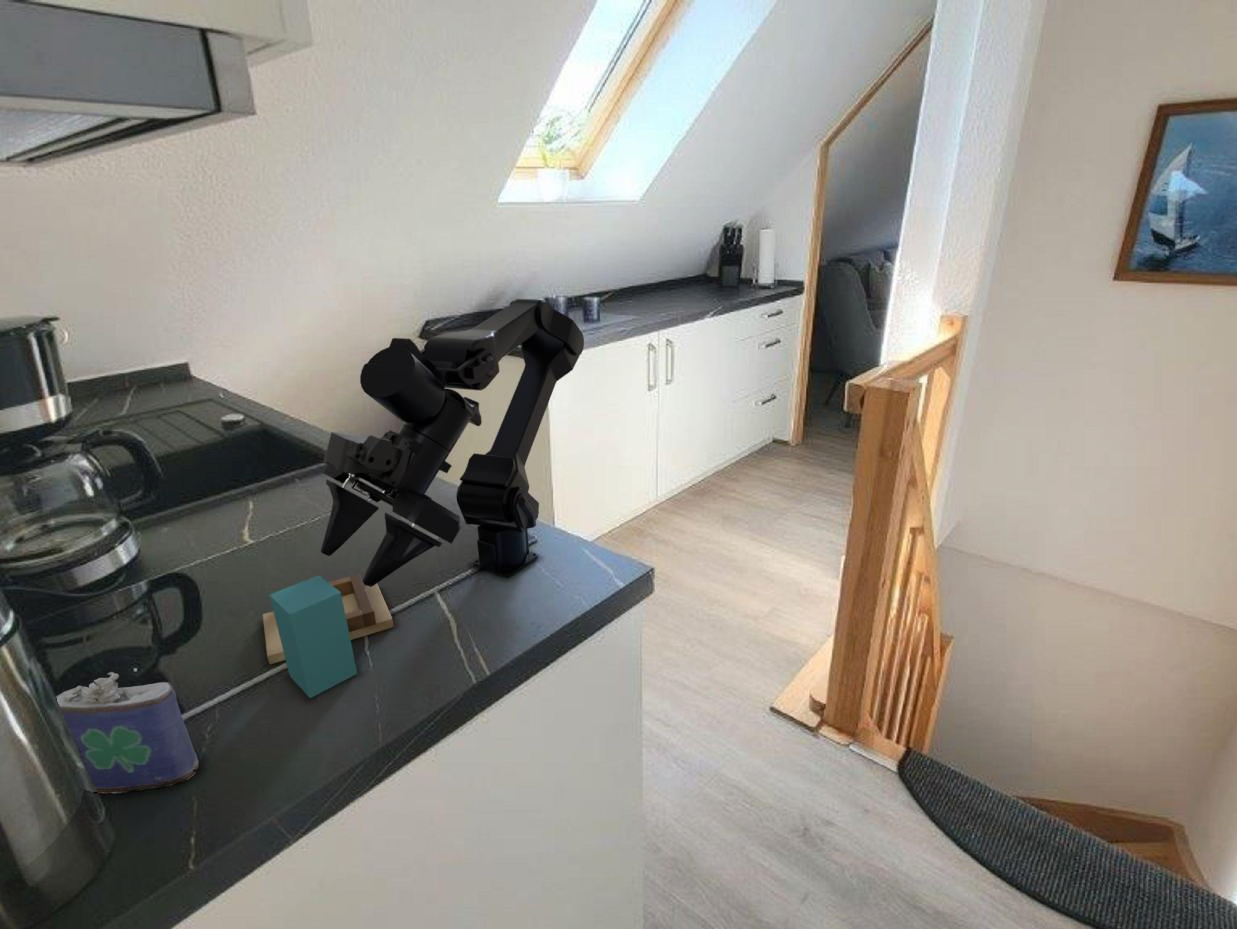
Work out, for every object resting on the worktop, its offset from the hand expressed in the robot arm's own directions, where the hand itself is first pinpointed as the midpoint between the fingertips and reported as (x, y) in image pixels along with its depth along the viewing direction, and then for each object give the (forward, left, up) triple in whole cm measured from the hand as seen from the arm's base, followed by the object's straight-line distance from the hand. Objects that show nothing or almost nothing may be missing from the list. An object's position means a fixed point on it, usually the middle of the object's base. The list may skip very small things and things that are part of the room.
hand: (344, 568), depth 67 cm
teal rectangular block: (+4, -1, -11) cm, 12 cm away
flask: (+21, -2, -11) cm, 24 cm away
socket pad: (-2, -8, -11) cm, 14 cm away
